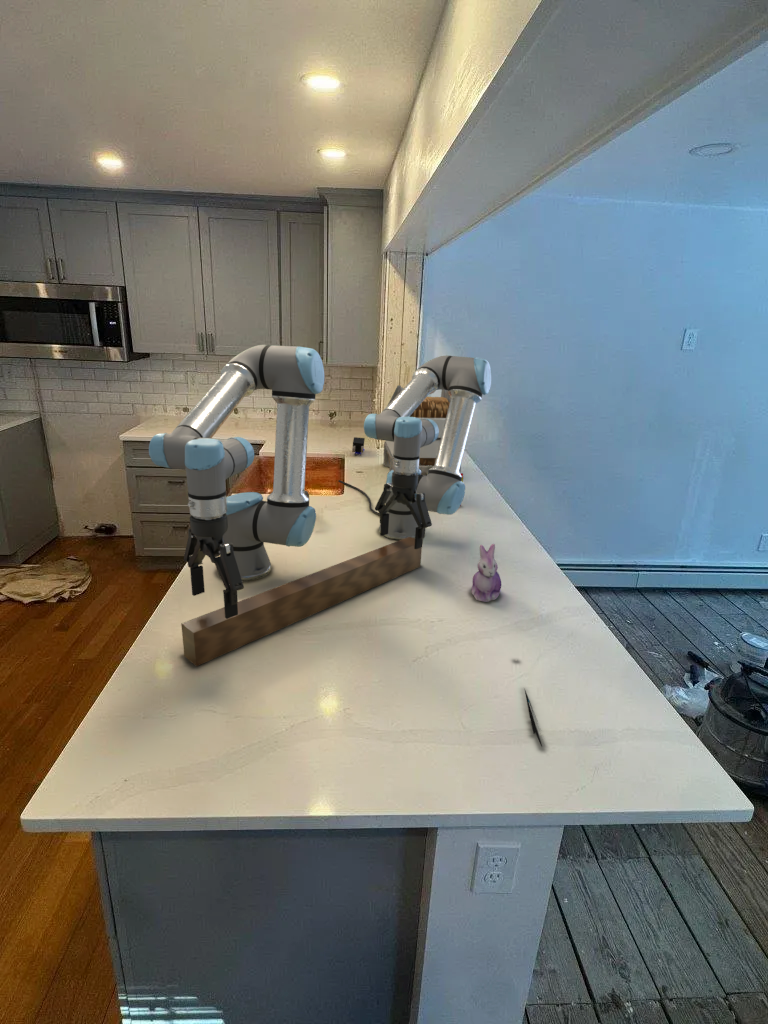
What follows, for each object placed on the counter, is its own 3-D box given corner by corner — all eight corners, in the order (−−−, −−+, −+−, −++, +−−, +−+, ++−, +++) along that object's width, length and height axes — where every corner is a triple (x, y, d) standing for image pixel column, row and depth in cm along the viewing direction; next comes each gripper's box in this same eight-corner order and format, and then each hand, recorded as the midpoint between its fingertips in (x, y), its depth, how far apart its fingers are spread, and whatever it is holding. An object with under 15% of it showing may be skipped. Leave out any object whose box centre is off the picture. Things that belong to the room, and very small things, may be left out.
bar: (407, 561, 179) (409, 536, 176) (420, 566, 175) (422, 541, 172) (184, 656, 126) (181, 623, 123) (196, 666, 123) (193, 632, 120)
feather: (516, 665, 130) (521, 659, 130) (541, 751, 103) (548, 744, 103) (510, 661, 130) (515, 655, 129) (534, 747, 103) (541, 739, 103)
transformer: (382, 463, 289) (386, 382, 275) (445, 464, 293) (451, 384, 279) (390, 482, 257) (394, 392, 243) (460, 483, 261) (468, 394, 247)
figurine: (483, 606, 153) (489, 555, 148) (461, 589, 161) (466, 541, 156) (510, 599, 157) (517, 550, 152) (488, 583, 166) (493, 536, 161)
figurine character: (364, 459, 300) (364, 449, 314) (364, 445, 297) (365, 436, 311) (351, 458, 300) (352, 449, 314) (351, 445, 297) (352, 435, 310)
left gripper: (162, 502, 123) (170, 589, 130) (225, 536, 107) (230, 633, 115) (194, 495, 128) (200, 580, 136) (258, 526, 113) (261, 620, 120)
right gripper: (365, 465, 167) (362, 532, 174) (431, 484, 151) (425, 557, 158) (382, 461, 172) (379, 526, 179) (448, 479, 156) (441, 550, 163)
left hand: (214, 604), depth 125 cm, fingers open, 13 cm apart
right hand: (400, 541), depth 169 cm, fingers open, 13 cm apart
